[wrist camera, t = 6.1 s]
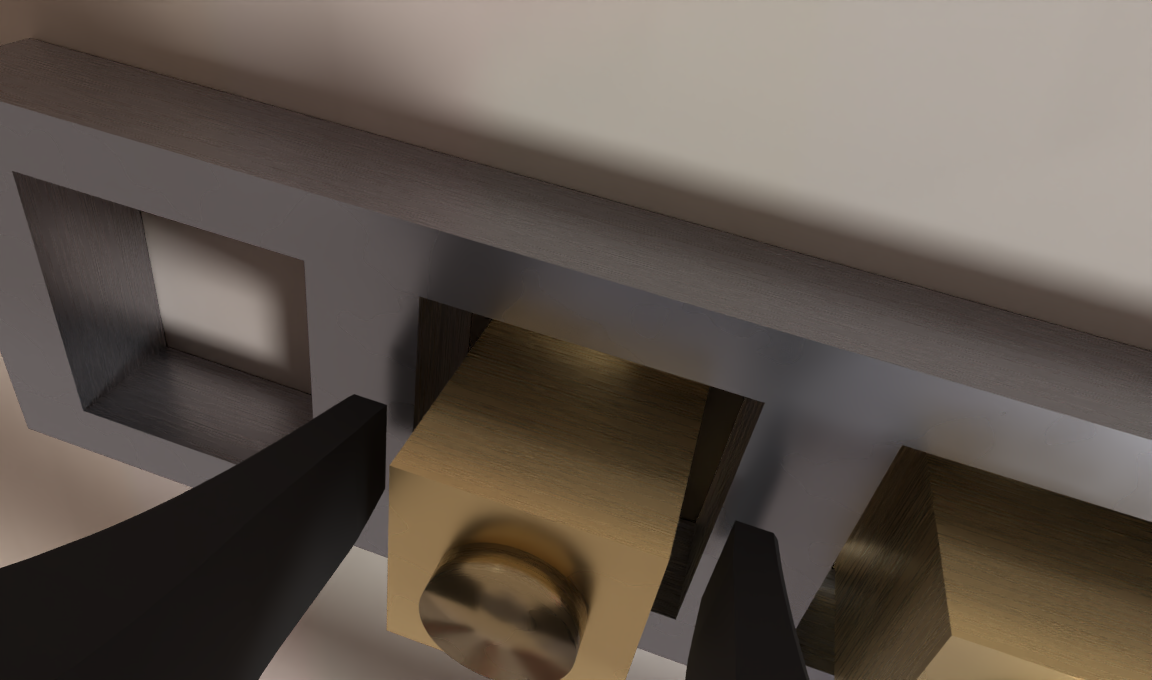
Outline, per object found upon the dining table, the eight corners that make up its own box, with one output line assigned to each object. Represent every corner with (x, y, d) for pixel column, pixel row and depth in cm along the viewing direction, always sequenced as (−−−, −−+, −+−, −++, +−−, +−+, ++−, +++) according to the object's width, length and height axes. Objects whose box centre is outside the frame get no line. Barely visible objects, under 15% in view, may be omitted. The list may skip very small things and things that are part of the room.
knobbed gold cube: (717, 350, 14) (660, 596, 9) (667, 496, 16) (603, 749, 12) (512, 290, 14) (368, 495, 10) (493, 440, 17) (369, 661, 12)
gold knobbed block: (1158, 465, 13) (1331, 808, 8) (1035, 605, 15) (1118, 932, 11) (917, 393, 13) (958, 678, 9) (835, 540, 16) (833, 824, 11)
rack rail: (1422, 427, 11) (1550, 557, 9) (1110, 705, 16) (1148, 832, 14) (30, 38, 14) (-101, 71, 12) (113, 365, 19) (27, 428, 17)
